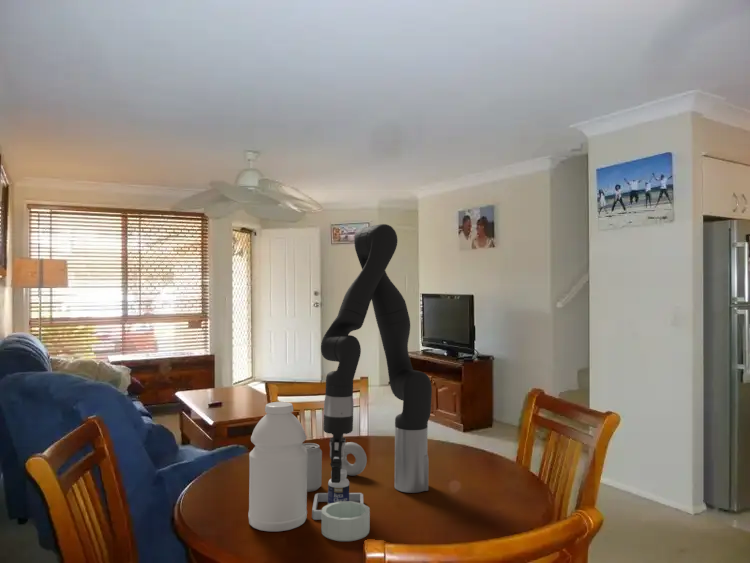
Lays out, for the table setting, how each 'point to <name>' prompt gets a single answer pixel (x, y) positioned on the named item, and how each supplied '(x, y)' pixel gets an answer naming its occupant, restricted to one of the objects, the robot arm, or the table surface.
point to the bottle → (278, 471)
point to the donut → (359, 456)
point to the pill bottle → (339, 489)
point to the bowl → (345, 521)
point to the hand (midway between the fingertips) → (336, 476)
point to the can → (313, 466)
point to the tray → (324, 498)
